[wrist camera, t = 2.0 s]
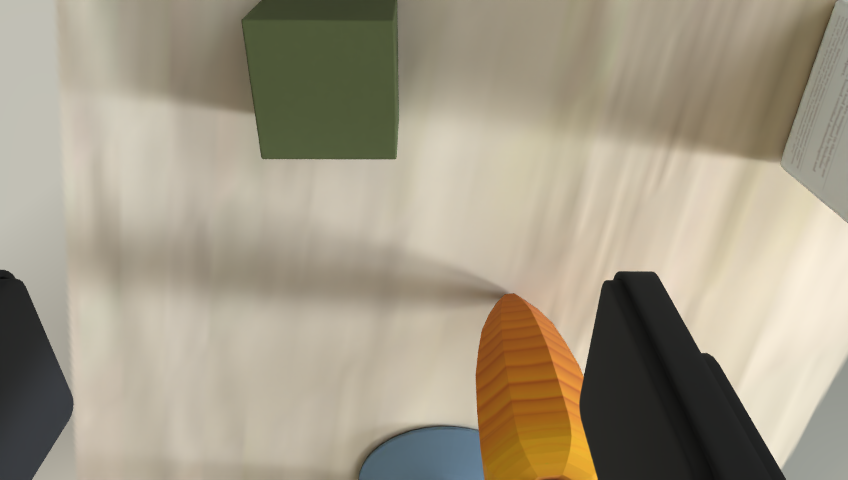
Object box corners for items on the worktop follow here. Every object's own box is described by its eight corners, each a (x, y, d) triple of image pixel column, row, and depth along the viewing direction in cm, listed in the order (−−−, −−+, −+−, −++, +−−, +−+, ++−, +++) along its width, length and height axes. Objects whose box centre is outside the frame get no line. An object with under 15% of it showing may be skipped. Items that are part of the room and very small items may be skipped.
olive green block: (281, 119, 26) (261, 159, 23) (265, -5, 23) (240, 19, 20) (398, 119, 26) (396, 160, 23) (397, -5, 23) (394, 20, 20)
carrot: (572, 268, 30) (686, 565, 18) (537, 341, 33) (615, 647, 20) (477, 247, 30) (524, 543, 17) (448, 324, 32) (471, 631, 19)
